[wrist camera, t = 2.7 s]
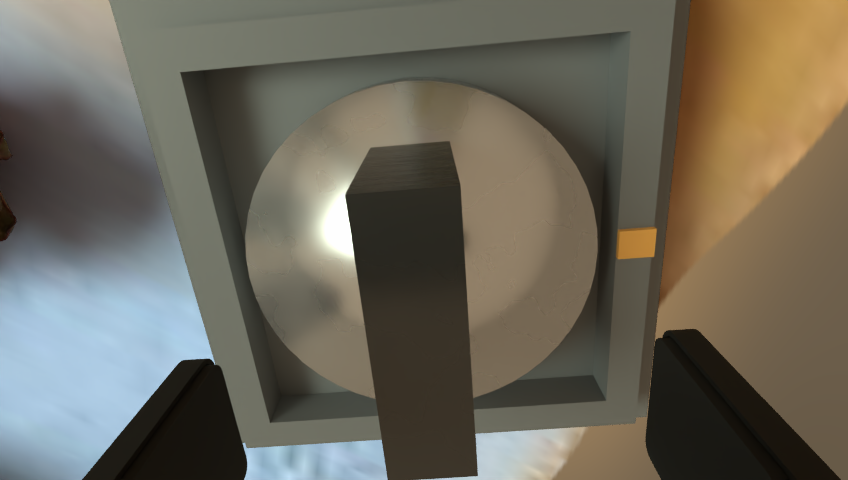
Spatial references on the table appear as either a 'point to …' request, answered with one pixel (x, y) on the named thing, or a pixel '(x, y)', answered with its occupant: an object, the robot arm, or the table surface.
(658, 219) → the dial housing
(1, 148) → the dragon fruit
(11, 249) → the table surface
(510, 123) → the dial
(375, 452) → the table surface
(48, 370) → the table surface
